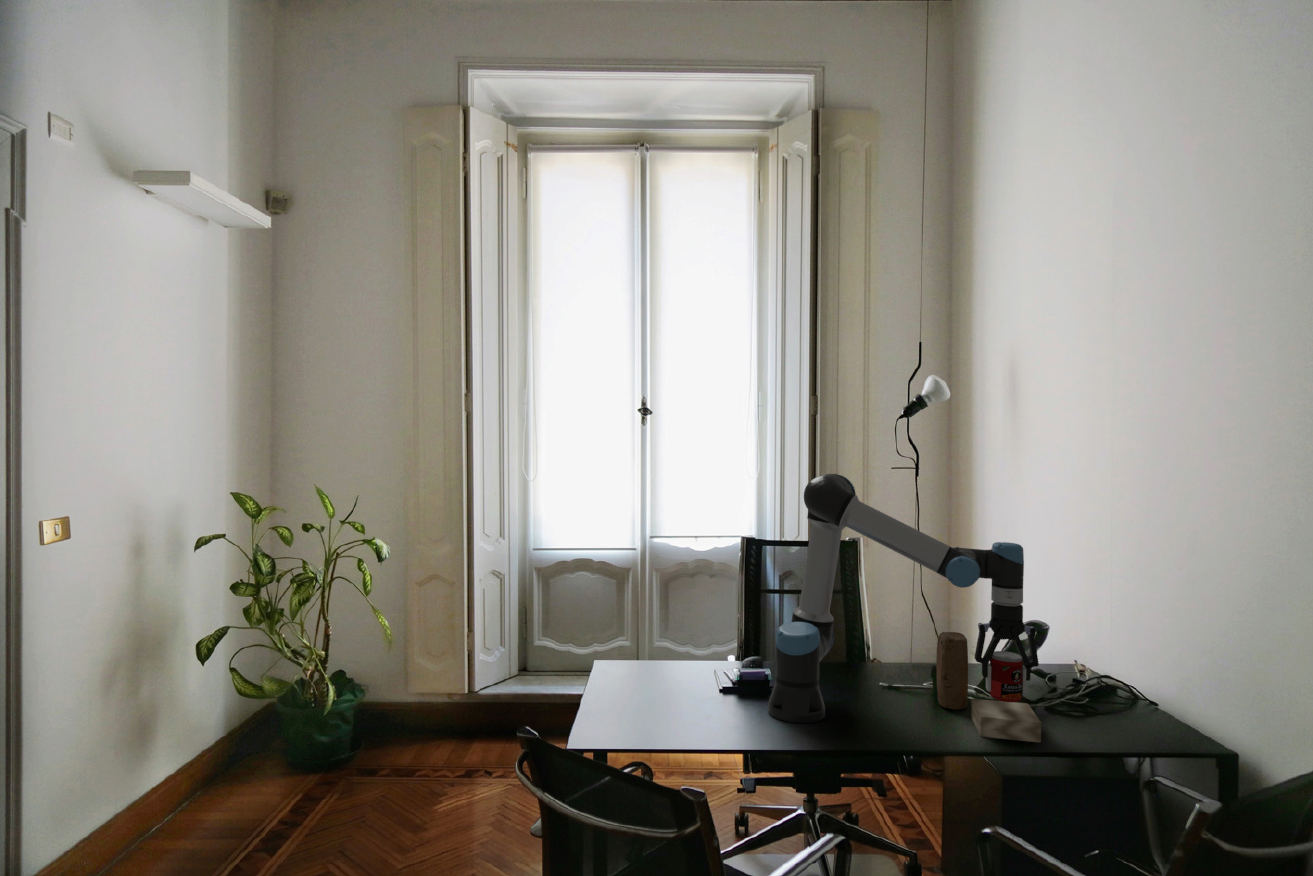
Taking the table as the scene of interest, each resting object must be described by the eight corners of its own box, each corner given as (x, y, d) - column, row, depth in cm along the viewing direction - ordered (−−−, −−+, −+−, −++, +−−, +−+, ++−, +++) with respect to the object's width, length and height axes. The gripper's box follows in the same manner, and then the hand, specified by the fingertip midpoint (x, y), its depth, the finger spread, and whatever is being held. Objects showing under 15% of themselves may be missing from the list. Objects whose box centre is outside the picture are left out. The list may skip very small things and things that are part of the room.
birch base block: (980, 736, 196) (980, 717, 196) (971, 717, 210) (971, 698, 210) (1040, 742, 193) (1041, 722, 193) (1027, 722, 207) (1027, 703, 207)
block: (968, 712, 214) (970, 639, 213) (940, 710, 215) (941, 637, 215) (961, 699, 224) (962, 630, 224) (933, 697, 226) (935, 628, 225)
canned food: (1003, 704, 196) (1004, 660, 196) (982, 693, 204) (983, 651, 204) (1029, 701, 199) (1029, 658, 198) (1007, 691, 206) (1007, 650, 206)
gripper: (967, 603, 200) (965, 692, 200) (1054, 608, 195) (1052, 699, 195) (962, 597, 207) (961, 683, 207) (1046, 602, 203) (1045, 690, 203)
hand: (1005, 691), depth 201 cm, fingers closed on canned food, 8 cm apart
